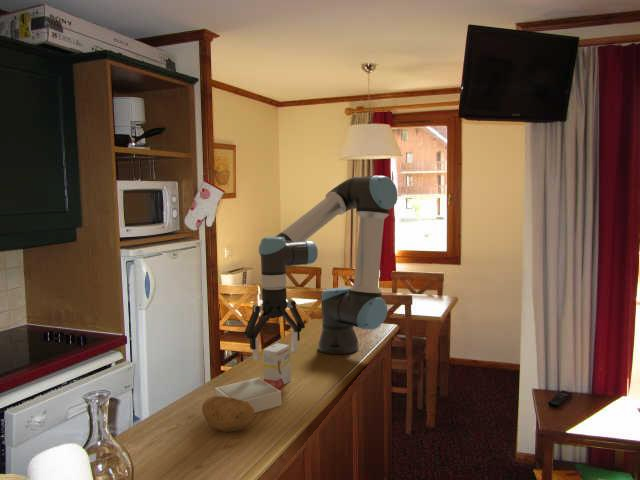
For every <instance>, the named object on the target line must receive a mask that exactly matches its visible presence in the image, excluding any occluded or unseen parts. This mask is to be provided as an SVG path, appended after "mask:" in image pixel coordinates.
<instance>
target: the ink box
mask: <svg viewBox="0 0 640 480" xmlns="http://www.w3.org/2000/svg"><path fill="white" fill-rule="evenodd" d="M290 349H291V344H290V345H289V344H284V343H278V342H277V343H275V344H272V345H269V346H268V347H266V348H263V351H262V355H263V357H262V359H263V362H262V363H263V380H264V381H265V382H267V383H268V384H270V385H272V386H273V387H275V388H277V389H278V390H280V388H281V387H283V386H285V385H286V384H288V383H290V382H291V381H292V375H291V350H290Z"/></svg>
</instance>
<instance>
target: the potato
mask: <svg viewBox="0 0 640 480" xmlns="http://www.w3.org/2000/svg"><path fill="white" fill-rule="evenodd" d="M201 410H202V414H203V416H204V418H205V420H206V422H207V424H208V425H209V426H211V427H213V428H215V429H217V430H219V431H221V432H224V433H228V432H234V431H238V430H241V429H244V428H245V427H247V425H249V424H250V423H251V422H252V421H253V419H254V416H255V413H254V409H253V407H252V406H251V405H250V404H249V403H248V402H245V401H241V400H238V399H235V398H229V397H222V396H211V397H208V398H207V399H206V400H205V401H204V402H203V403H202V406H201Z"/></svg>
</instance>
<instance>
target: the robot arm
mask: <svg viewBox="0 0 640 480" xmlns="http://www.w3.org/2000/svg"><path fill="white" fill-rule="evenodd" d="M397 202H398V189H397V187H396V184H395V183H394V181H393V180H392V179H391V178H390V177H388V176H386V175H367V176H355V177H354V176H353V177H351V178H348V179H345V180H344V181H342V182H341V183H339V184H338V185H336V186H335V187H334V188H332V189H331V190H330V191H328V192H327V193H326V194H325V197H324V199H322V200H321V201H320V202H318V203H317V204H316V205H314V206H313V207H312V208H311V209H310V210H308V211H307V212H306V213H303V215H302V216H300V217H299V218H298V219H297V220H295V221H294V222H293V223H291V224H290V225H289V226H287V227H286V228H285V229H283V230H282V231H281V232H279V233H278V234H277V235H276V236H267V237H266V236H265V237H263V238H261V240H260V243H259V246H258V253H259V256H260V267H261V268H260V269H261V270H260V271H261V274H260V275H261V287H262V289H261V302H262V304H261V305H256V304H253V305H252V309H251V310H252V312H251V314H250V317H249V320H248V322H247V325H246V328H245V330H244V332H243V337H245V338H247V339H249V347H250V350H252V359H253V360H255V361H257V362H258V361H259V360H260V351H259V349H260V346H259V344H260V343H259V341H260V340H259V338H257V337H258V335H260V333H261V332H262V329H263V328H264V326H265V325H266V324H267V322H269V321H270V319H276V318H281V317H282V318H283V319H284V321H286V323H287V324H288V325H289V326H290V327H291V328H292V330H291V331H290V338H291V340H290V341H291V344H290V349H291V350H290V352H293V353H298V352H299V346H298V344H299V343H298V342H300V339H301V338H300V333H301V332H302V330H303V329H305V327H306V324H305V323H304V321H303V319H302V317H301V314H300V312H299V310H298V309H297V304H296V301H295V300H291V299H288V298H287V297H288V296H287V288H286V286H287V267H288V268H289V267H294V266H302V265H303V266H307V265H311V264H314V263H315V262H316V261H317V259H318V255H319V253H318V246H317V245H316V243H315V242H314V241H311V240H308V239H309V238H311V237H312V236H313V235H314V234H315V233H317V232H318V231H320V230H321V229H322V228H323V227H324V226H325V225H326V224H327V225H328V223H330V222H331V221H332V220H333V219H335V218H336V217H338V216H342V215H344V214H345V213H346V212H348V211H350V210H355V209H356V211H355V212H356V214H357V215H358V217H359V223H358V224H359V225H358V237H357V248H356V257H355V258H356V259H355V270H354V278H353V279H354V281H353V284H352V286H342V287H333V288H328V289H324V290H323V291H322V292H321V300H320V301H321V303H320V304H321V320H322V329H321V333H320V337H319V341H318V344H317V345H318V350H319V351H320V353H324V354H327V355H347V354H352V353H355V352H357V351H358V350H359V341H358V338H357V335H356V332H355V329H354V327H356V328H359V329H361V330H368V331H371V330H376V329H378V328H379V327H380V326H381V325H382V324H383V323H384V322H385V320H386V318H387V314H388V304H387V303H386V301H385V299H383V298H382V295H383V292H382V290H381V289H380V288H379V278H380V269H381V268H380V267H381V258H382V257H381V256H382V244H383V234H384V224H385V219H386V218H387V217H388V216H390V210H391V209H392V208H395V207H394V206H395V205H396V204H397ZM287 299H288V301H287ZM287 308H288V309H289V311H290V313H291V315H289V313H288V312H287V311H286V309H287ZM262 311H263V312H262ZM260 313H262V314H261V315H260ZM259 316H260V318H259ZM291 316H292V317H293V318H292V317H291ZM294 320H295V321H294Z"/></svg>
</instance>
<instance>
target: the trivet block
mask: <svg viewBox="0 0 640 480" xmlns="http://www.w3.org/2000/svg"><path fill="white" fill-rule="evenodd" d="M214 395H215V396H222V397H229V398H235V399H238V400H241V401H245V402H248V403H249V404H250V405H251V406H252V407H253V409H254V414H255V413H259V412H261V411H266V410H270V409H274V408H277V407H279V406H283V403H282V402H283V401H282V400H283V399H282V390H280V389H277V388H275V387H273V386H272V385H270V384H268V383H267V382H265V381H264V379H263V378H260V377H255V378H250V379H246V380H243V381H238V382H234V383H230V384H226V385H223V386H221V385H220V386H218V387H214Z"/></svg>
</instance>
